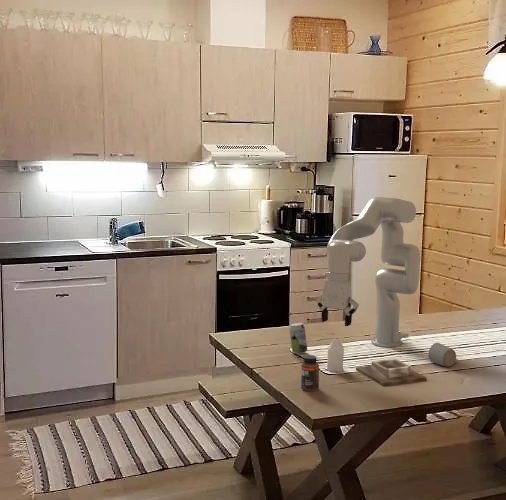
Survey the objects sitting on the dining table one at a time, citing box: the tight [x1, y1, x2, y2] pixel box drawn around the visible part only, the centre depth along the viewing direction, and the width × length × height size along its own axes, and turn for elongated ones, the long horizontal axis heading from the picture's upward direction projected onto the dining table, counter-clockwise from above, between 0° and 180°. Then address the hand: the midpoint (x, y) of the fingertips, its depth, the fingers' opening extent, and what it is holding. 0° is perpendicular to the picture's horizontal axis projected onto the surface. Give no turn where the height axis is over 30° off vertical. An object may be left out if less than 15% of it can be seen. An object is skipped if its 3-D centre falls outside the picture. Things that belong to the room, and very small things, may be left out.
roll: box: [326, 338, 345, 373], centre depth 255 cm, size 6×12×6 cm
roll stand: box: [355, 358, 427, 387], centre depth 250 cm, size 18×18×4 cm
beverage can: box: [288, 322, 308, 355], centre depth 274 cm, size 6×7×12 cm
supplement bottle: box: [300, 354, 320, 392], centre depth 234 cm, size 6×6×11 cm
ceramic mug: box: [427, 342, 458, 368], centre depth 264 cm, size 11×8×8 cm
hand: (336, 323), depth 252 cm, fingers open, 9 cm apart
